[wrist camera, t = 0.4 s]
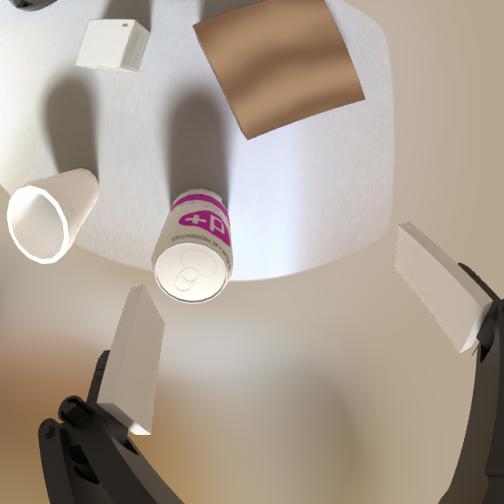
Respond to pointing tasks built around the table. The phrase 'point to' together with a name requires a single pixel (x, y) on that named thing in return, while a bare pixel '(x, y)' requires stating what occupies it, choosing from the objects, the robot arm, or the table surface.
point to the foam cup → (51, 213)
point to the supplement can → (194, 248)
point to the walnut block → (279, 62)
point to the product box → (113, 45)
